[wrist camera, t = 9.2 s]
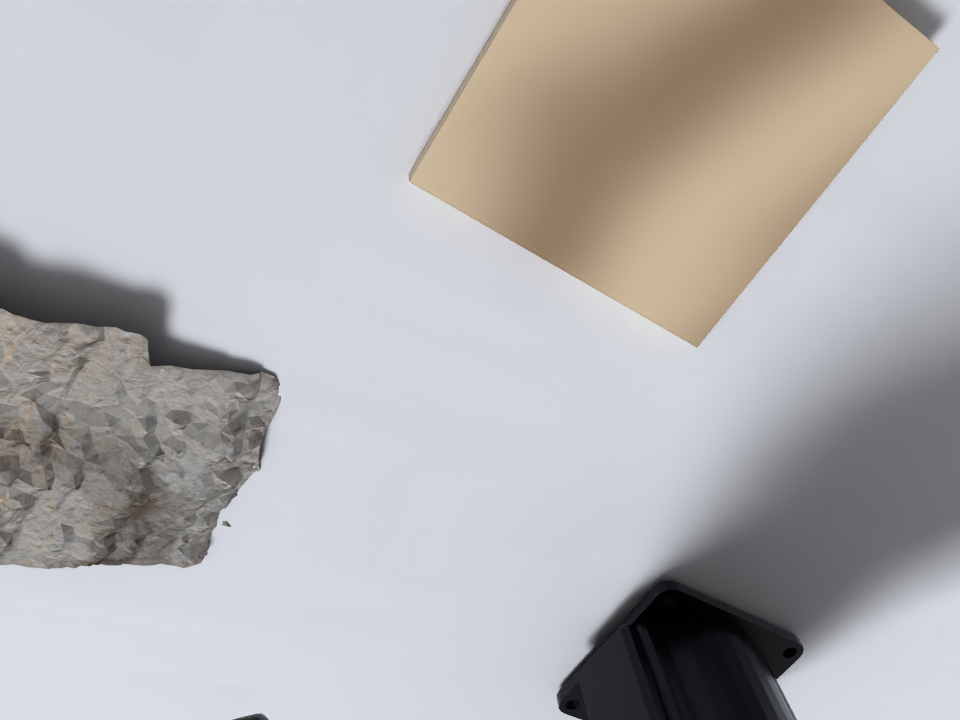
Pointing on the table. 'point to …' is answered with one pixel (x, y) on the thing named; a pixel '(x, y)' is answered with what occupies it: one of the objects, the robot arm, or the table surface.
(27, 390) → the stone fragment
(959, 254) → the table surface
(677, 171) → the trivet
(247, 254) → the table surface
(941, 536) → the table surface
